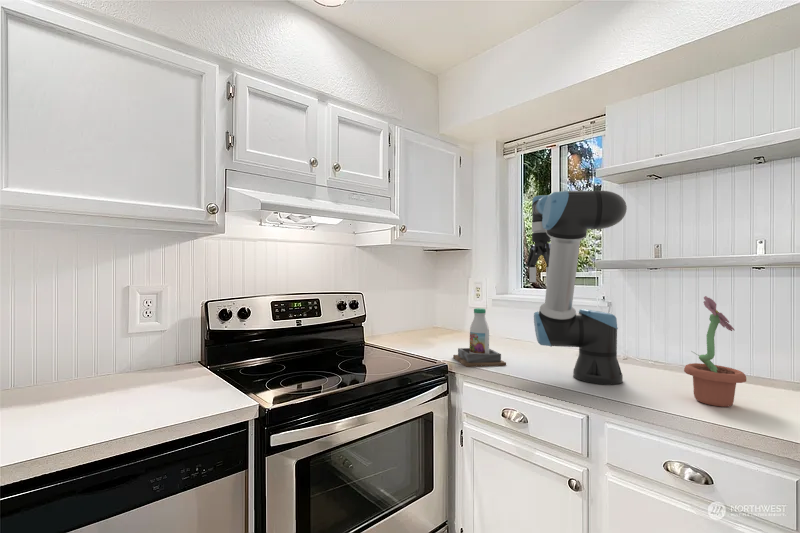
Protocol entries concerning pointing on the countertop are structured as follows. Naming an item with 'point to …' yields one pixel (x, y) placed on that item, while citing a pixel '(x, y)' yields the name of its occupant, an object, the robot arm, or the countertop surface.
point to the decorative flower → (714, 368)
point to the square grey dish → (478, 358)
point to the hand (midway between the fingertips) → (540, 282)
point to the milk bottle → (479, 333)
